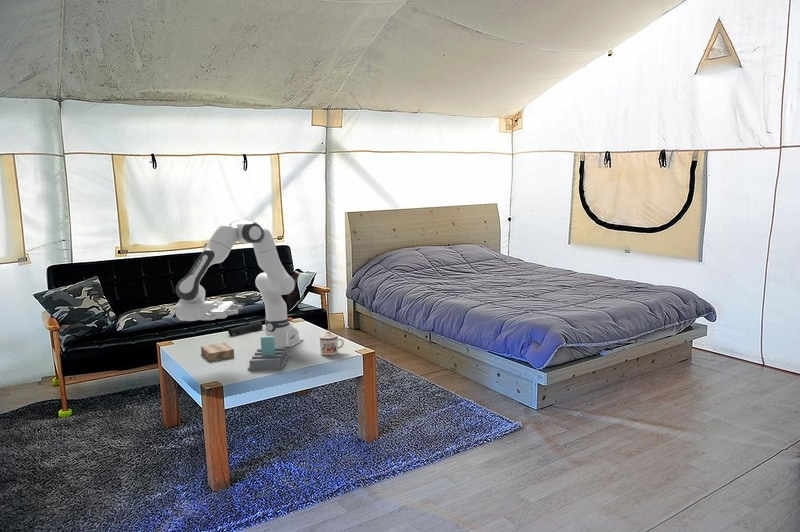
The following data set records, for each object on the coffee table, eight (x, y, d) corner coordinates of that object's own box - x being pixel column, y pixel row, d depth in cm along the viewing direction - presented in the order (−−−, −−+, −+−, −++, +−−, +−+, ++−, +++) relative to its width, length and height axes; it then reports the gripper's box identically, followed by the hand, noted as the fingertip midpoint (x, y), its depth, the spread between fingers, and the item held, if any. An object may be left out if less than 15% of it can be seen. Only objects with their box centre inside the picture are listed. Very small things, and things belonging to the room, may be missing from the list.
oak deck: (224, 349, 306) (224, 342, 305) (234, 357, 292) (233, 349, 292) (201, 353, 299) (200, 346, 299) (209, 361, 286) (209, 353, 285)
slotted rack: (256, 357, 290) (255, 348, 290) (288, 356, 291) (288, 347, 290) (247, 370, 271) (247, 360, 270) (282, 369, 271) (281, 359, 271)
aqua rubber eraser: (262, 360, 282) (261, 336, 280) (275, 359, 282) (274, 335, 280) (261, 362, 279) (260, 337, 278) (274, 361, 280) (273, 337, 278)
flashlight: (263, 330, 348) (262, 321, 347) (232, 337, 332) (232, 328, 332) (258, 328, 351) (257, 320, 350) (227, 335, 336) (227, 327, 335)
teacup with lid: (320, 357, 289) (320, 334, 288) (319, 352, 298) (318, 329, 297) (345, 355, 292) (344, 332, 290) (342, 350, 301) (342, 328, 299)
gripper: (203, 309, 265) (234, 307, 266) (215, 299, 285) (244, 298, 286) (205, 322, 266) (235, 321, 267) (216, 312, 286) (245, 310, 287)
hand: (240, 309), depth 277 cm, fingers open, 8 cm apart
